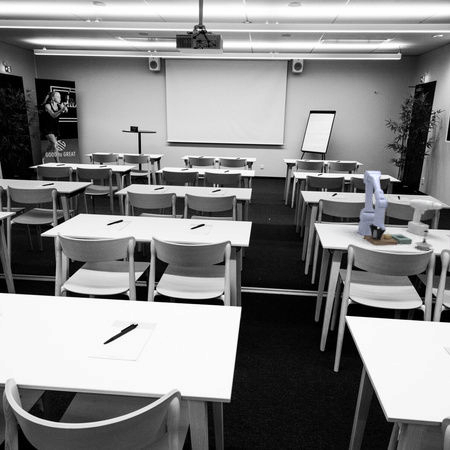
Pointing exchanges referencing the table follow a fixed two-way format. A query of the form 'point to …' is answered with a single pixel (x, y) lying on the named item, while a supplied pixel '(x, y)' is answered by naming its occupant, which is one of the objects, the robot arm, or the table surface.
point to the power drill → (419, 209)
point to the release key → (387, 236)
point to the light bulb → (423, 243)
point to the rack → (401, 239)
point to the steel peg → (375, 235)
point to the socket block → (381, 241)
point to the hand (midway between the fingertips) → (375, 237)
